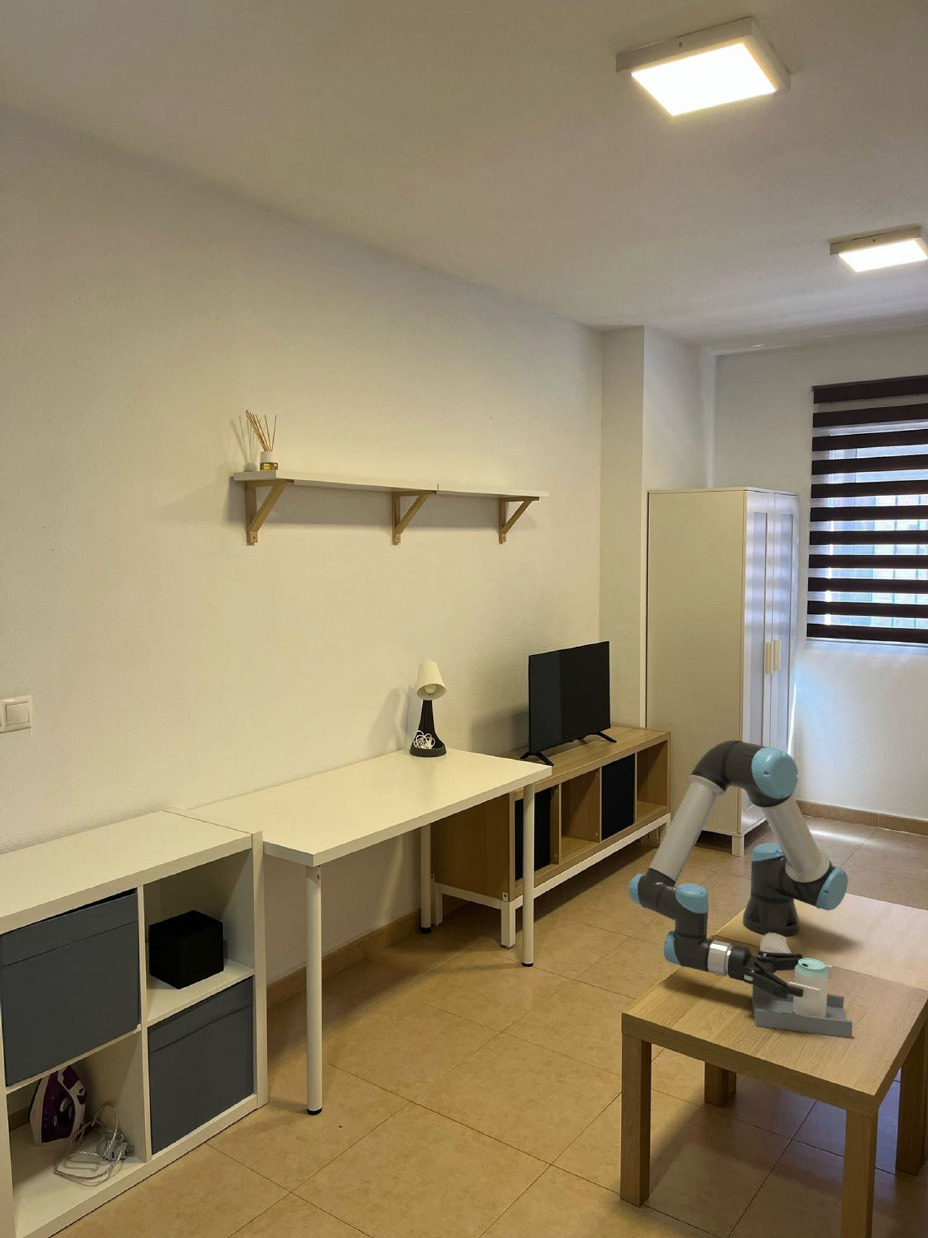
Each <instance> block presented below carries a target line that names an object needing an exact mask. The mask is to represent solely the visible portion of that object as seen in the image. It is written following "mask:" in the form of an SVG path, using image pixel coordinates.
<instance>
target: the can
mask: <svg viewBox="0 0 928 1238" xmlns="http://www.w3.org/2000/svg"><path fill="white" fill-rule="evenodd" d="M825 965H826V964H825V963H824V962H822V961H821V960H819V959H816V958H812V957H811V958H810V957H807V958H806V957H803V959H800V960H799V961H798V964H797V965H796V966H795V970H794V976H793V977H794V978H793V979H794V981H793V983H797V984H801V985H806V986H810V987H814V988H818V989H820V1001H819V1002H815V1001H811V1000H807V999H803V998H799V997H795V996H793V1011H794V1012H795V1013H796V1014H801V1015H809V1016H818V1017H826V1006H827V994H828V982H829V981H828V980H829V978H828V971H827V970H826V968H825Z"/></svg>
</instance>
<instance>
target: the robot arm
mask: <svg viewBox="0 0 928 1238" xmlns="http://www.w3.org/2000/svg"><path fill="white" fill-rule="evenodd" d="M798 774H799V770H798V766H797V764H796V762H795V760H794V758H793V757H792V756H791V754H789V753H787V752H785V751H783V750H780V749H778V748H775V747H772V746H764V745H759V744H756V743H755V744H754V743H751V742H745V741H742V740H738V739H737V740H736V739H731V740H724V741H722V742H720V743H718V744H716V745H714V746H713V747H712V748H710V749H709V750H707V752H706V753H705V754H703V756H702V757H701V758H700V759H699V760H698V762H697V763H696V764H695V766H694V767H693V769H692V771H691V773H690V775H689V780H690V784H689V787H688V788H687V790H686V792H685V795H684V796H683V799H682V801H681V803H680V805H679V807H678V809H677V810H676V813H675V815H674V817H673V819H672V821H671V823H670V825H669V827H668V828H667V831H666V833H665V835H664V836H663V839H662V840H661V843H660V845H659V847H658V849H657V850H656V852H655V855H654V856H653V859H652V861H651V863H650V865H649V867H648V868H647V870H646V873H638V874H636V875H635V876H634V877H632V878H631V880H630V882H629V886H628V895H629V898H630V900H632V901H633V903H635V904H637V905H639V906H641V907H642V908H644V909H647V910H649V911H652V912H655V913H657V914H659V915H662V916H663V917H666V918H668V919H670V920H673V921H674V930H670V931H668V932H667V934H666V936H665V939H664V945H663V955H664V958H665V960H666V961H667V962H669V963H671V964H674V965H678V966H680V967H683V968H687V969H693V970H697V971H702V972H707V973H709V974H714V975H715V976H716V977H719V976H723V977H729V978H730V979H733V980H737V981H741V982H743V983H745V984H750V985H752V986H753V985H754V986H756V987H758V988H760V989H762V990H764V991H766V992H768V993H770V994H772V995H774V996H776V997H778V998H783V999H787V994H788V995H791V996H795V997H799V998H803V999H807V1000H811V1001H815V1002H819V1001H820V989H818V988H814V987H810V986H806V985H801V984H797V983H794V981H788V982H785V980H783V979H782V978H781V977H779V976H777V974H775V973H776V972H778V971H779V972H781V971H793V970H794V971H795V966H796V965H797V964H798V961H799V960H800V959H803V958H804V955H803V954H800V953H792V954H790V953H770V952H764V951H760V950H758V952H757V953H758V954H757V955H753V954H751V949H750V948H749V947H746V946H740V945H736V944H734V945H733V944H732V943H729V942H725V941H721V940H716V939H711V938H708V919H709V909H710V908H709V892H708V890H707V889H706V888H705V887H704V886H703V885H700V884H695V883H693V882H691V883H689V882H687V883H685V882H684V883H682V884H681V883H680V884H679V885H677V886H676V883H677V881H678V879H679V878H680V875H681V873H682V872H683V869H684V867H685V866H686V863H687V861H688V859H689V857H690V855H691V853H692V851H693V849H694V847H695V845H696V843H697V840H699V837H700V835H701V834H702V833H701V832H702V830H703V829H704V827H705V825H706V823H707V821H708V818H709V817H710V815H711V812H712V810H713V809H714V806H715V805H716V802H717V801H718V799H719V797H721V796H724V795H725V793H726V792H727V789H728V788H729V787H730V786H731V787H735V788H739V789H742V790H744V791H745V792H746V794H747V797H748V798H749V800H750V802H751V804H752V805H754V806H755V807H757V808H760V809H761V811H762V814H763V815H764V817H765V819H766V821H767V823H768V825H769V827H770V829H771V831H772V833H773V835H774V837H775V840H777V841H776V842H768V843H761V844H758V845H755V847H753V849H752V855H751V860H750V861H751V870H750V871H751V873H750V896H749V898H748V902H747V904H746V907H745V909H744V911H743V914H742V923H743V926H745V927H746V928H747V929H749V930H750V931H752V932H755V933H758V934H762V935H764V936H765V935H766V934H767V933H776V934H779V935H782V936H784V937H789V936H793V935H795V934H798V933H799V931H800V924H801V923H800V918H799V914H798V911H797V907H796V905H795V900H796V901H799V902H801V903H805V904H807V905H809V906H813V907H815V908H816V909H818V910H819V909H822V910H824V911H833V910H835V909H836V908H838V906H839V905H840V904H841V903H842V902H843V900H844V898H845V895H846V893H847V889H848V884H849V881H848V880H849V879H848V874H847V872H846V871H845V870H844V869H842V868H841V867H840V866H835V865H833V864H832V861H831V859H830V856H828V854H827V853H826V852H825V851H824V850H823V849H820V848H819V847H818V845H817V844H816V841H815V839H814V837H813V835H812V832H811V831H810V828H809V827H808V824H807V823H806V820H805V818H804V816H803V813H802V812H801V809H800V807H799V806H798V802H797V800H796V799H795V797H794V793H795V790H796V788H797V784H798V782H799V777H797V776H798ZM825 968H826V970H827V971H828V979H832V973H833V972H832V971H833V965H829V964H825ZM776 991H777V992H776Z"/></svg>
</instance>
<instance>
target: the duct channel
mask: <svg viewBox="0 0 928 1238" xmlns="http://www.w3.org/2000/svg"><path fill="white" fill-rule="evenodd" d="M751 989H752V991H751V992H752V993H751V1002H752V1010H753V1015H754V1022H755V1023H754V1025H755V1027H763V1028H771V1029H777V1030H785V1029H786V1031H794V1032H801V1033H810V1034H817V1035H823V1036H824V1035H826V1036H832V1037H833V1036H834V1037H839V1038H841V1037H842V1038H848V1039H852V1038H853V1036H852V1035H853V1020H848V1019H847V1015H846V1012H845V1009H844V1003H845V1002H844V1001H845V999H844V998H845V997H844V996H843V995H838V994H830V993H827V1006H826V1017H818V1016H809V1015H801V1014H796V1013H795V1012H794V1011H793V996H791V995H788V994H787V999H783V998H778V997H776V996H774V995H772V994H770V993H768V992H766V991H764V990H762V989H760V988H758V987H756V986H754V985H752V988H751ZM776 992H777V991H776Z"/></svg>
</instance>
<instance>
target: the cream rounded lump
mask: <svg viewBox="0 0 928 1238" xmlns="http://www.w3.org/2000/svg"><path fill="white" fill-rule="evenodd" d="M759 943H760V944H759V951H764V952H770V953H790V954H793V952H792V951H791V950H790V948H789V946H788V945H787V937H786V936H782V935H779V934H776V933H767V934H766V935H765V934H764V935H763V936H762V938H761V940H760V942H759Z"/></svg>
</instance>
